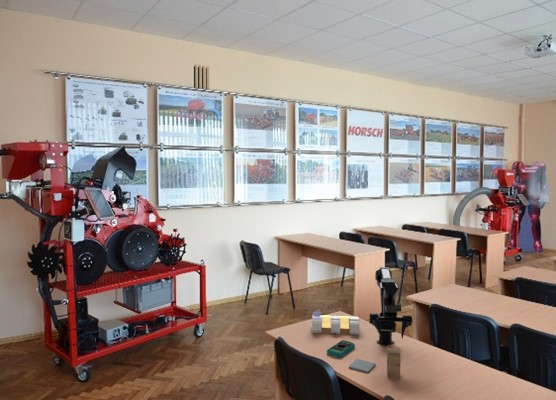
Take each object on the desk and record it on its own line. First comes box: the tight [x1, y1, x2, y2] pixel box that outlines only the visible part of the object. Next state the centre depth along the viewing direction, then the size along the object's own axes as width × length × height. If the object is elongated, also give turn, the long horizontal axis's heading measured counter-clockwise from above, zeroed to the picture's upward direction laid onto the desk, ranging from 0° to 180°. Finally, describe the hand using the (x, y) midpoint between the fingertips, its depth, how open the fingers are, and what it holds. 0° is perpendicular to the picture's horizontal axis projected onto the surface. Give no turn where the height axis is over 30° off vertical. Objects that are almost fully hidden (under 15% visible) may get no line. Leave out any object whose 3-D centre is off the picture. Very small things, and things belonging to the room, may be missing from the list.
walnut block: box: [386, 347, 402, 380], centre depth 179 cm, size 5×5×11 cm
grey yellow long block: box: [311, 308, 360, 335], centre depth 230 cm, size 25×10×13 cm, turn 83°
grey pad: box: [348, 358, 376, 374], centre depth 188 cm, size 9×9×1 cm
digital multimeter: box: [326, 339, 356, 359], centre depth 204 cm, size 8×15×3 cm, turn 143°
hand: (391, 337), depth 186 cm, fingers open, 9 cm apart
